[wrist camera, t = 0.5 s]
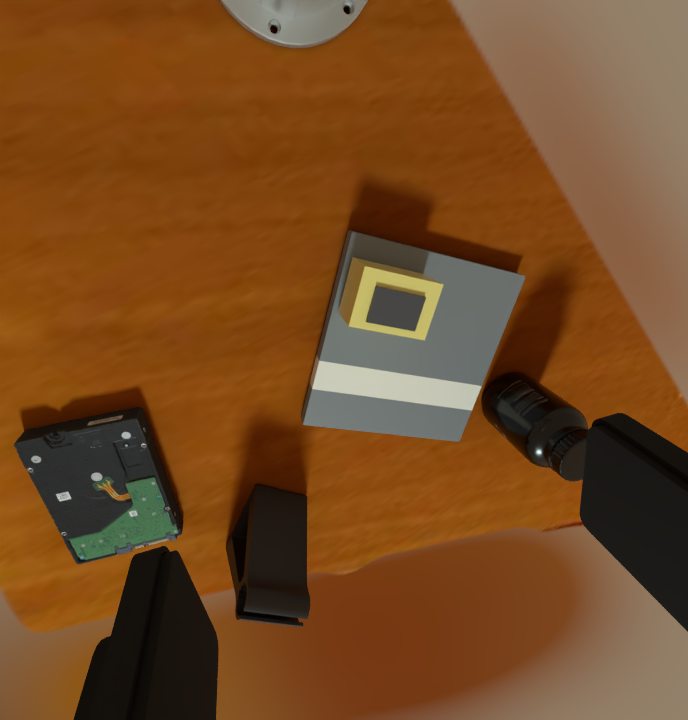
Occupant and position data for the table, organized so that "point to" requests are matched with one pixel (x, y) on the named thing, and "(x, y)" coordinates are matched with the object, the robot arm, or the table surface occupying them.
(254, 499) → the phone stand
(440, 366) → the board
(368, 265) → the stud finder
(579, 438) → the supplement bottle
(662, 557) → the robot arm
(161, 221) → the table surface
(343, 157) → the table surface
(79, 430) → the disk drive
